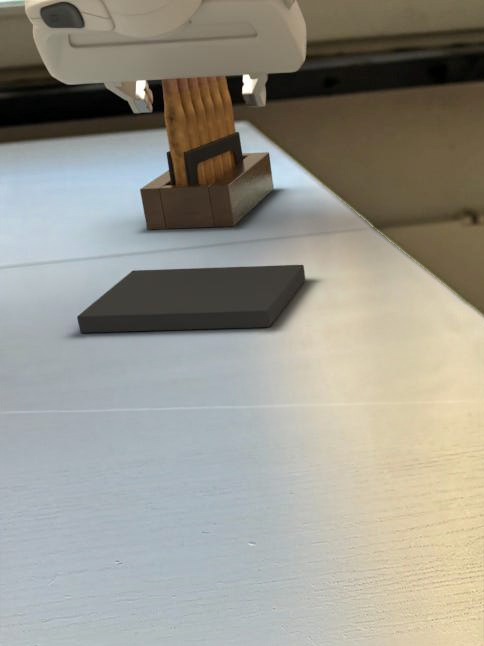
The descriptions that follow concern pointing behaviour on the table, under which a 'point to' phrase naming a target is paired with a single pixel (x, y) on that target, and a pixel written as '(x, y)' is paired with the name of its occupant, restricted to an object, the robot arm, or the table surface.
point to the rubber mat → (194, 299)
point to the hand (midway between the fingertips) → (200, 102)
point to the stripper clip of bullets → (200, 130)
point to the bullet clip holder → (208, 197)
